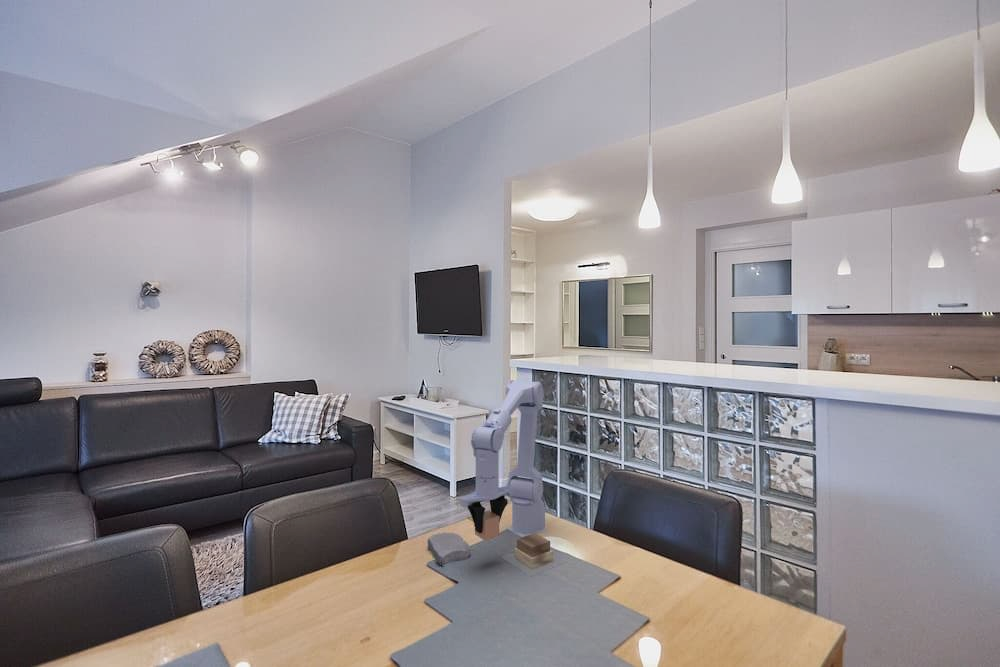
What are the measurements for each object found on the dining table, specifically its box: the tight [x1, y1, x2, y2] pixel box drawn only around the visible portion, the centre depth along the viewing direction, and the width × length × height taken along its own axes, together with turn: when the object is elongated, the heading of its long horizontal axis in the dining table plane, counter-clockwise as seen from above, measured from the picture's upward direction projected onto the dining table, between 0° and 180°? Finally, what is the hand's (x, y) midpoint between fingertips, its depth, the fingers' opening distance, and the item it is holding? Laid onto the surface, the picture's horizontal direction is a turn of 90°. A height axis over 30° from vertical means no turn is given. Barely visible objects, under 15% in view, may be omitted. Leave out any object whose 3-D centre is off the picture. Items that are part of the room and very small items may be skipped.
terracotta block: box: [474, 510, 500, 541], centre depth 124 cm, size 4×4×5 cm
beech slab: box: [513, 547, 554, 569], centre depth 126 cm, size 7×7×2 cm
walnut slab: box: [516, 533, 551, 557], centre depth 126 cm, size 6×6×2 cm
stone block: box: [427, 532, 471, 566], centre depth 131 cm, size 12×5×10 cm
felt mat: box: [500, 552, 567, 577], centre depth 126 cm, size 12×12×1 cm
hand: (487, 529), depth 124 cm, fingers closed on terracotta block, 4 cm apart
